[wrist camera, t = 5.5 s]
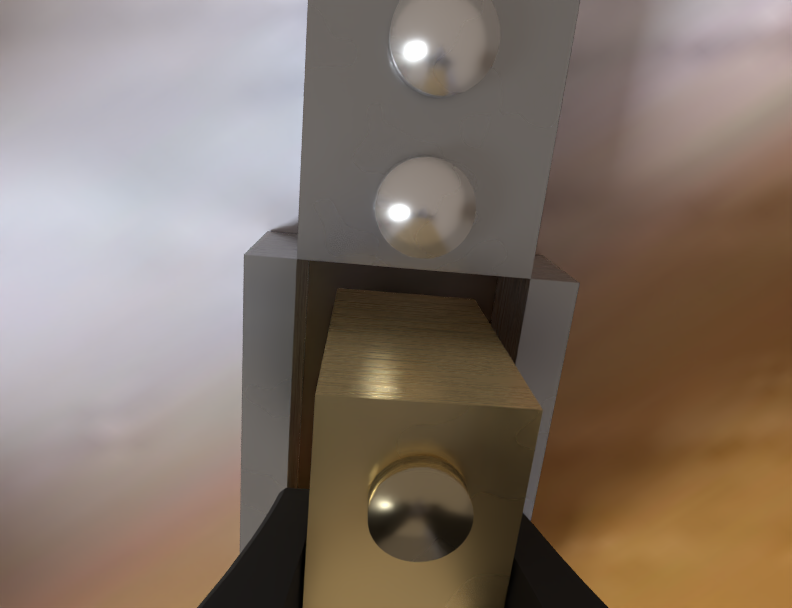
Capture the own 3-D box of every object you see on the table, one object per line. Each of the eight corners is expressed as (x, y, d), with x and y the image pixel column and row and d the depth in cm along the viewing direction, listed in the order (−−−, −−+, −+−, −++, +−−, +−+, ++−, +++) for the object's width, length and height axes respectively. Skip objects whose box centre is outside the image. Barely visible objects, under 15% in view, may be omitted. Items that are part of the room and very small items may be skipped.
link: (474, 298, 12) (552, 425, 7) (432, 588, 14) (466, 843, 9) (337, 288, 12) (312, 410, 7) (317, 584, 14) (286, 843, 9)
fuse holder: (583, 28, 12) (654, -5, 9) (462, 693, 18) (480, 807, 15) (274, -8, 11) (239, -56, 8) (255, 687, 17) (231, 804, 14)
